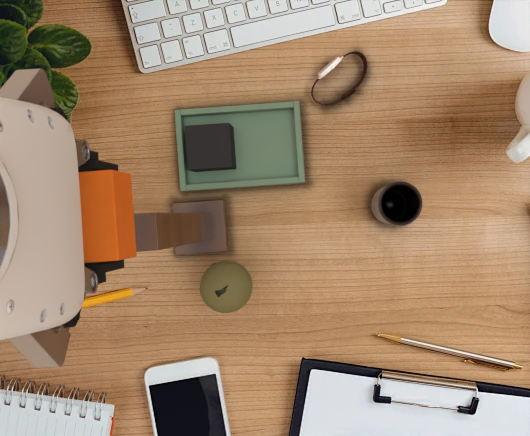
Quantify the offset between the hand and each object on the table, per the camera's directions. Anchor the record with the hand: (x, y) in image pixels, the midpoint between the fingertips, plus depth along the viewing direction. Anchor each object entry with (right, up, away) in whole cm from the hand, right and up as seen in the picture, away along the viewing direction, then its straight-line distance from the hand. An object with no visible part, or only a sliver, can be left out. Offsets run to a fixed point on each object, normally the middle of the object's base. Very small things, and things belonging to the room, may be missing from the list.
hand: (95, 217), depth 37 cm
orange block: (0, 0, -1) cm, 1 cm away
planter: (+21, +1, +35) cm, 41 cm away
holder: (+4, +8, +35) cm, 36 cm away
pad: (+1, +8, +35) cm, 36 cm away
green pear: (+3, -7, +36) cm, 36 cm away
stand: (-1, -1, +35) cm, 35 cm away
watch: (+15, +16, +35) cm, 42 cm away
